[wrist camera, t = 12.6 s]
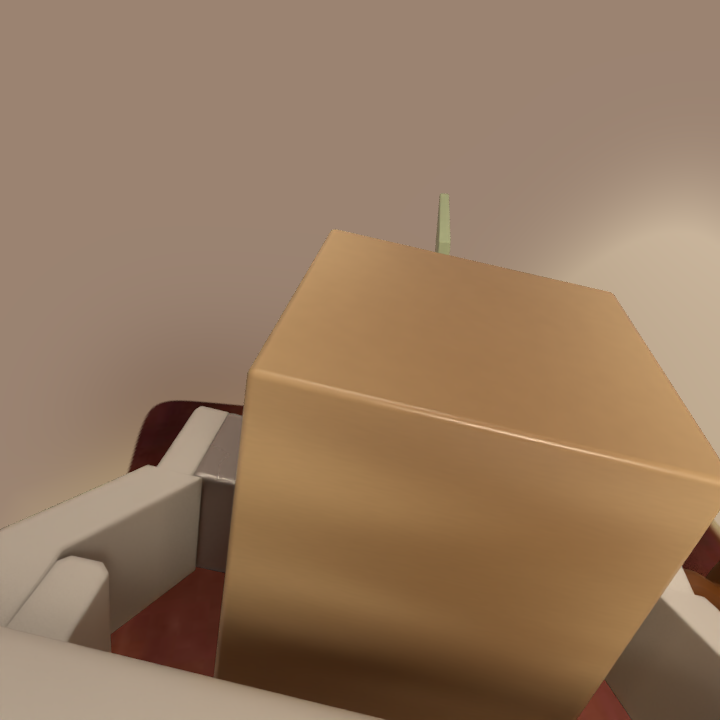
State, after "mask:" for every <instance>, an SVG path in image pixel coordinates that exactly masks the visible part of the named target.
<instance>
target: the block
mask: <svg viewBox="0 0 720 720" xmlns="http://www.w3.org/2000/svg"><path fill="white" fill-rule="evenodd" d="M719 511H720V459H719V457H718V456H717V454H716V452H715V451H714V449H713V448H712V446H711V445H710V443H709V442H708V440H707V438H706V437H705V435H704V434H703V432H702V431H701V429H700V428H699V426H698V424H697V423H696V421H695V420H694V418H693V417H692V415H691V414H690V412H689V411H688V409H687V408H686V406H685V404H684V403H683V401H682V400H681V398H680V396H679V395H678V393H677V392H676V390H675V389H674V387H673V386H672V384H671V382H670V381H669V380H668V378H667V376H666V375H665V373H664V372H663V370H662V368H661V367H660V365H659V364H658V362H657V361H656V359H655V358H654V356H653V355H652V353H651V352H650V350H649V348H648V347H647V346H646V344H645V342H644V341H643V339H642V337H641V336H640V334H639V333H638V331H637V330H636V328H635V327H634V325H633V323H632V322H631V320H630V319H629V317H628V316H627V314H626V313H625V311H624V309H623V308H622V306H621V305H620V303H619V302H618V300H617V298H616V297H615V295H614V294H612V293H611V292H607V291H603V290H598V289H594V288H589V287H585V286H581V285H576V284H572V283H568V282H563V281H559V280H554V279H550V278H546V277H541V276H537V275H533V274H529V273H524V272H520V271H515V270H510V269H506V268H502V267H498V266H494V265H489V264H484V263H480V262H476V261H471V260H467V259H463V258H458V257H454V256H450V255H446V254H441V253H437V252H432V251H428V250H424V249H419V248H415V247H411V246H406V245H401V244H398V243H393V242H389V241H384V240H380V239H375V238H371V237H367V236H362V235H358V234H354V233H349V232H345V231H341V230H336V229H335V230H331V232H330V233H329V235H328V237H327V238H326V240H325V242H324V243H323V245H322V247H321V249H320V250H319V252H318V254H317V256H316V257H315V259H314V260H313V262H312V264H311V266H310V267H309V269H308V271H307V273H306V274H305V276H304V277H303V279H302V281H301V283H300V284H299V286H298V288H297V290H296V291H295V293H294V294H293V296H292V298H291V300H290V301H289V303H288V305H287V307H286V308H285V310H284V311H283V313H282V315H281V317H280V318H279V320H278V322H277V324H276V325H275V327H274V329H273V330H272V332H271V334H270V335H269V337H268V339H267V340H266V342H265V344H264V345H263V347H262V349H261V351H260V352H259V354H258V356H257V358H256V359H255V361H254V363H253V364H252V366H251V368H250V369H249V371H248V373H247V381H246V390H245V399H244V408H243V417H242V426H241V435H240V444H239V453H238V462H237V471H236V480H235V489H234V498H233V507H232V516H231V525H230V534H229V543H228V552H227V561H226V570H225V579H224V588H223V597H222V606H221V615H220V624H219V633H218V642H217V651H216V660H215V669H214V678H217V679H221V680H225V681H229V682H233V683H238V684H242V685H246V686H250V687H254V688H258V689H262V690H266V691H270V692H275V693H279V694H283V695H287V696H291V697H295V698H299V699H303V700H307V701H312V702H316V703H320V704H324V705H328V706H332V707H336V708H340V709H344V710H349V711H353V712H357V713H361V714H365V715H369V716H373V717H377V718H381V719H385V720H577V718H578V717H579V715H580V714H581V712H582V711H583V709H584V708H585V707H586V705H587V704H588V702H589V701H590V699H591V698H592V696H593V695H594V693H595V692H596V690H597V689H598V688H599V686H600V685H601V683H602V682H603V680H604V679H605V677H606V676H607V674H608V673H609V671H610V670H611V669H612V667H613V666H614V664H615V663H616V661H617V660H618V658H619V657H620V655H621V654H622V652H623V651H624V650H625V648H626V647H627V645H628V644H629V642H630V641H631V639H632V638H633V636H634V635H635V633H636V632H637V631H638V629H639V628H640V626H641V625H642V623H643V622H644V620H645V619H646V617H647V616H648V614H649V613H650V612H651V610H652V609H653V607H654V606H655V604H656V603H657V601H658V600H659V598H660V597H661V595H662V594H663V593H664V591H665V590H666V588H667V587H668V585H669V584H670V582H671V581H672V579H673V578H674V576H675V575H676V574H677V572H678V571H679V569H680V568H681V566H682V565H683V563H684V562H685V560H686V559H687V557H688V556H689V555H690V553H691V552H692V550H693V549H694V547H695V546H696V544H697V543H698V541H699V540H700V538H701V537H702V536H703V534H704V533H705V531H706V530H707V528H708V527H709V525H710V524H711V522H712V521H713V519H714V518H715V517H716V515H717V513H718V512H719Z"/></svg>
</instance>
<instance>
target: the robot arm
mask: <svg viewBox="0 0 720 720" xmlns="http://www.w3.org/2000/svg"><path fill="white" fill-rule="evenodd" d="M242 417H243V416H241V415H237V414H233V413H231V414H230V413H228V412H224V411H220V410H216V409H212V408H208V407H204V406H200V407H199V408H197V409H196V410H195V411H194V412H193V414H192V415H191V417H190V418H189V420H188V421H187V422H186V424H185V425H184V427H183V428H182V430H181V431H180V433H179V434H178V436H177V437H176V439H175V440H174V442H173V443H172V445H171V446H170V448H169V449H168V451H167V452H166V454H165V455H164V457H163V458H162V460H161V461H160V463H159V464H158V466H157V467H155V466H150V465H146V466H144V467H142V468H139V469H137V470H135V471H132V472H130V473H128V474H126V475H123V476H121V477H119V478H117V479H114V480H112V481H110V482H107V483H105V484H103V485H100V486H98V487H96V488H94V489H91V490H89V491H87V492H85V493H82V494H80V495H78V496H75V497H73V498H71V499H68V500H66V501H64V502H61V503H59V504H57V505H55V506H52V507H50V508H48V509H45V510H43V511H41V512H39V513H36V514H34V515H32V516H29V517H27V518H25V519H22V520H20V521H18V522H16V523H13V524H11V525H9V526H7V527H4V528H2V529H0V720H385V719H381V718H377V717H373V716H369V715H365V714H361V713H357V712H353V711H349V710H344V709H340V708H336V707H332V706H328V705H324V704H320V703H316V702H312V701H307V700H303V699H299V698H295V697H291V696H287V695H283V694H279V693H275V692H270V691H266V690H262V689H258V688H254V687H250V686H246V685H242V684H238V683H233V682H229V681H225V680H221V679H217V678H213V677H209V676H205V675H200V674H196V673H192V672H188V671H184V670H180V669H176V668H172V667H168V666H163V665H159V664H155V663H151V662H147V661H143V660H139V659H135V658H130V657H126V656H122V655H118V654H114V653H111V634H112V633H113V632H114V631H116V630H117V629H118V628H120V627H121V626H122V625H124V624H125V623H126V622H128V621H129V620H130V619H132V618H133V617H134V616H135V615H137V614H138V613H139V612H141V611H142V610H143V609H145V608H146V607H147V606H149V605H150V604H151V603H153V602H154V601H155V600H156V599H158V598H159V597H160V596H162V595H163V594H164V593H166V592H167V591H168V590H170V589H171V588H172V587H174V586H175V585H176V584H177V583H179V582H180V581H181V580H183V579H184V578H185V577H187V576H188V575H189V574H191V573H192V572H193V571H195V567H200V568H204V569H209V570H214V571H219V572H224V573H225V570H226V561H227V552H228V543H229V534H230V525H231V516H232V507H233V498H234V489H235V480H236V471H237V462H238V453H239V444H240V435H241V426H242ZM605 681H606V682H607V684H608V685H609V687H610V688H611V690H612V691H613V693H614V694H615V696H616V697H617V699H618V700H619V702H620V703H621V704H622V706H623V707H624V709H625V710H626V712H627V713H628V715H629V716H630V718H631V719H632V720H720V611H719V610H718V609H717V608H716V607H715V606H714V605H713V604H711V603H710V602H709V601H708V600H707V599H706V598H705V597H702V596H698V595H694V592H693V590H692V588H691V586H690V583H689V581H688V579H687V577H686V575H685V572H684V570H683V568H682V566H681V568H680V569H679V571H678V572H677V574H676V575H675V576H674V578H673V579H672V581H671V582H670V584H669V585H668V587H667V588H666V590H665V591H664V593H663V594H662V595H661V597H660V598H659V600H658V601H657V603H656V604H655V606H654V607H653V609H652V610H651V612H650V613H649V614H648V616H647V617H646V619H645V620H644V622H643V623H642V625H641V626H640V628H639V629H638V631H637V632H636V633H635V635H634V636H633V638H632V639H631V641H630V642H629V644H628V645H627V647H626V648H625V650H624V651H623V652H622V654H621V655H620V657H619V658H618V660H617V661H616V663H615V664H614V666H613V667H612V669H611V670H610V671H609V673H608V674H607V676H606V677H605Z"/></svg>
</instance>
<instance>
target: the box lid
mask: <svg viewBox="0 0 720 720" xmlns="http://www.w3.org/2000/svg"><path fill="white" fill-rule="evenodd" d="M449 213H450V212H449V194H440V199H439V212H438V223H437V236H436V248H435V252H437V253H441V254H446V255H449V253H450V214H449Z"/></svg>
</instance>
